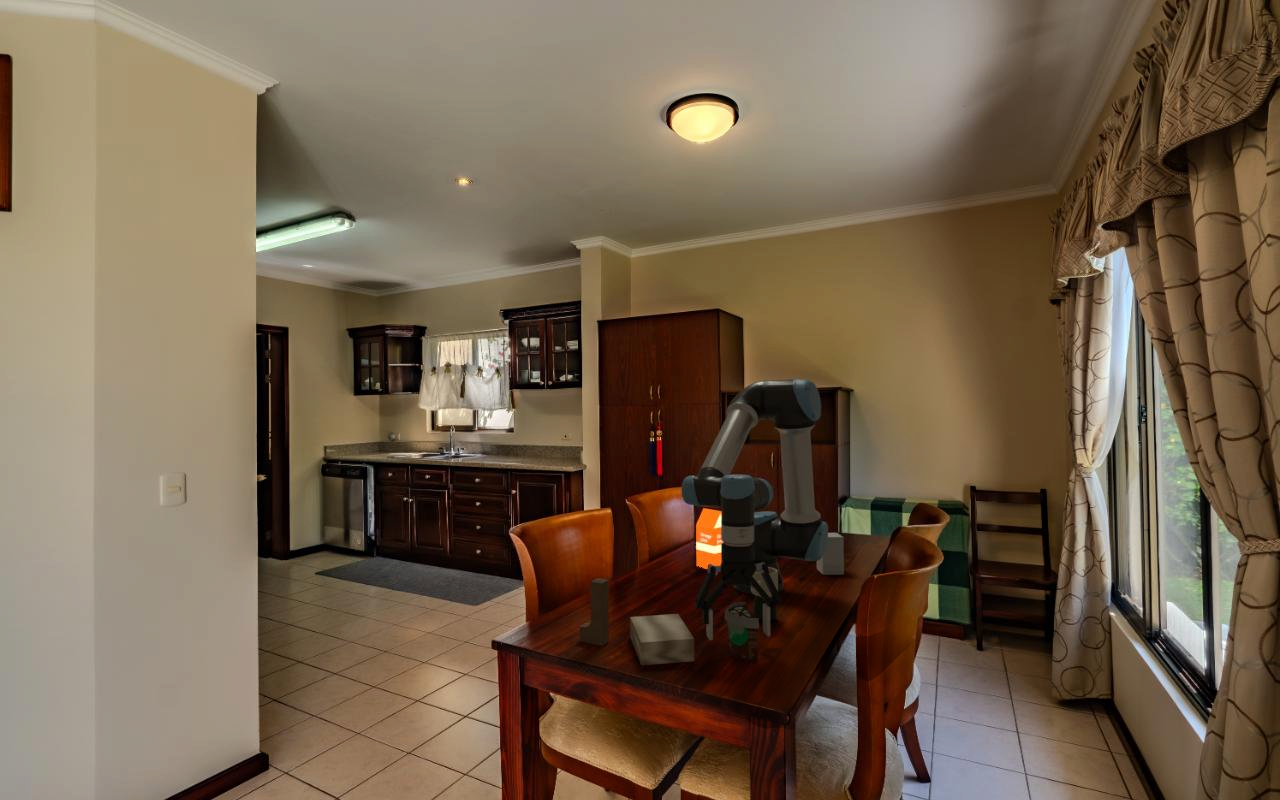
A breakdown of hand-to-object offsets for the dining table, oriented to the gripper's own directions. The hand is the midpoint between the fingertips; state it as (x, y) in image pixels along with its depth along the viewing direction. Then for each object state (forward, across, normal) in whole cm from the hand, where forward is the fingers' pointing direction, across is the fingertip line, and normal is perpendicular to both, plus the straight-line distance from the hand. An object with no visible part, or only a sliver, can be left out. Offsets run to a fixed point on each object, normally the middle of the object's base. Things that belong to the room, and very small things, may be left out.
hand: (738, 636), depth 137 cm
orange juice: (+4, +15, +72) cm, 74 cm away
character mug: (+4, +14, +20) cm, 25 cm away
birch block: (+4, -17, +6) cm, 18 cm away
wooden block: (+4, -32, +13) cm, 35 cm away
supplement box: (+4, +52, +58) cm, 78 cm away
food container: (+4, 0, 0) cm, 4 cm away
